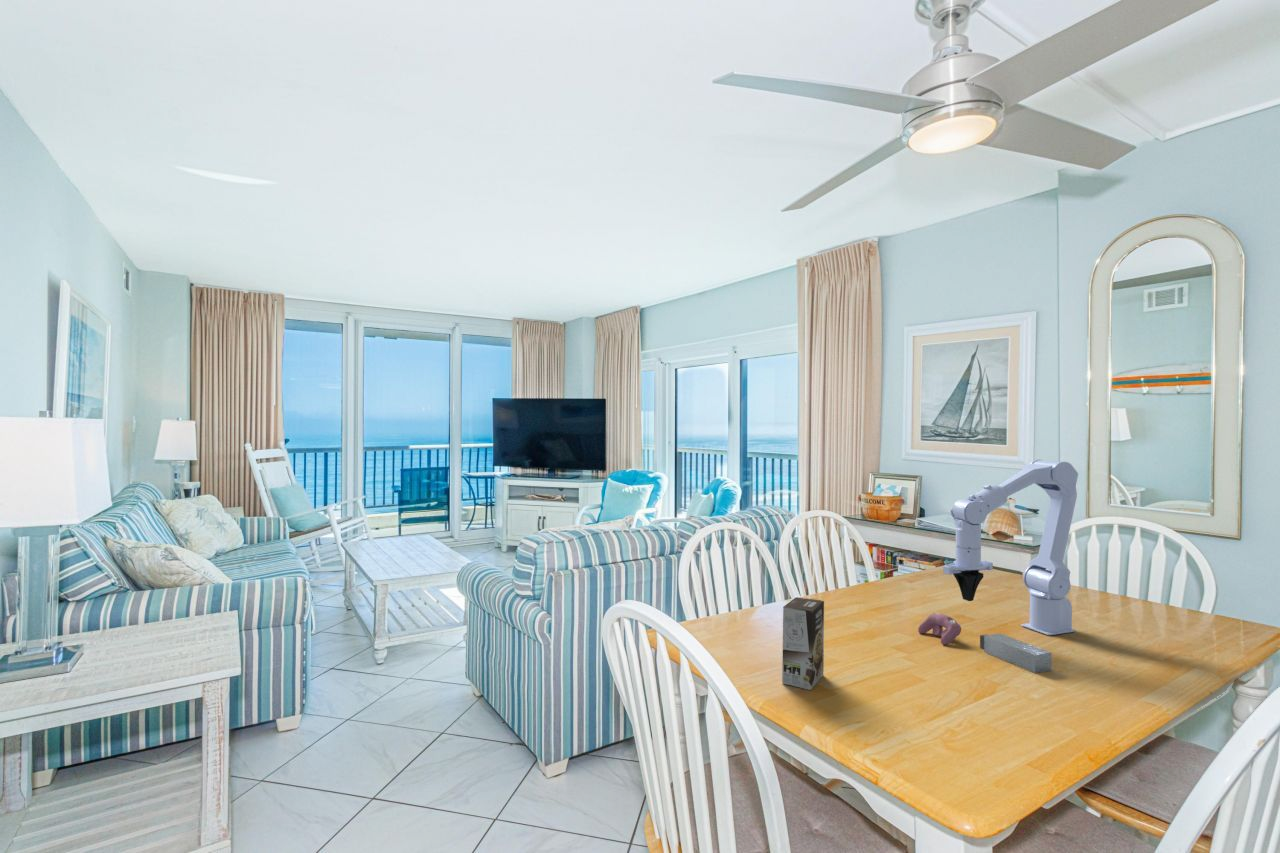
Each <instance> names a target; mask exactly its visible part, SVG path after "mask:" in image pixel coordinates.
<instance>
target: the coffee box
mask: <svg viewBox="0 0 1280 853" xmlns="http://www.w3.org/2000/svg"><path fill="white" fill-rule="evenodd" d="M782 614H783V615H782V667H781V668H782V669H781V670H782V673H781V674H782V675H781V679H782V680H781V683H782V684H784V685H789V686H793V687H796V688H801V689H802V690H803V689H804V690H808V691H811V690H813V688H814V687H815V686H816V685H817V683H819V681H820V680H821V679H822V678H823V676H824V667H825V666H824V664H825V663H824V659H825V658H824V657H825V656H824V654H825V653H824V652H825V651H824V650H825V648H824V645H825V643H824V642H825V640H824V638H825V636H824V635H825V634H824V633H825V632H824V630H825V628H824V627H825V626H824V625H825V624H824V623H825V601H824V600H821V599H814V598H813V599H812V598H803V597H794V598H793V599H792V600H791V601H790V602H788V603H786V604H785V605H784V606H783V608H782Z"/></svg>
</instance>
